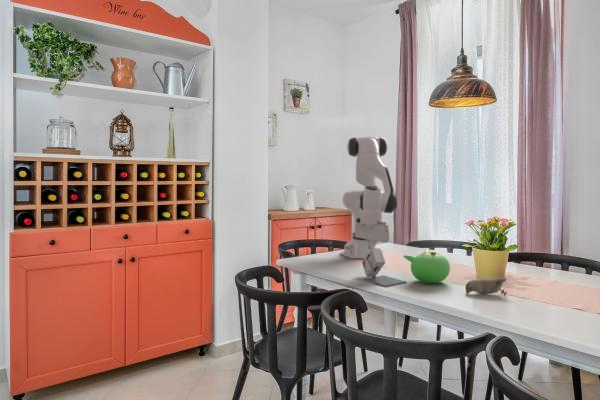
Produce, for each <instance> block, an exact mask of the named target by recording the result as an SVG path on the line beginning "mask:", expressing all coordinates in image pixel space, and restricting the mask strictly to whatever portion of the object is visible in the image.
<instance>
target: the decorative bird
mask: <svg viewBox="0 0 600 400" xmlns="http://www.w3.org/2000/svg"><path fill="white" fill-rule="evenodd" d="M506 281H507V277H502V278H501V277H498V278H492V279H491V278H483V279H478V280H477V279H471V280H469V281H468V282H467V283H466V284H465V293H466V295H468V294H469V293H471V292H475V293H477V294H479V295H490V294H495V293H497V292H499V291H501V294H503V296H504V297H506V296H507V292H508V290H506V291H505V289H506V288H503V290H502V286H503V284H504V282H506Z"/></svg>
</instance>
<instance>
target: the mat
mask: <svg viewBox="0 0 600 400" xmlns="http://www.w3.org/2000/svg"><path fill="white" fill-rule="evenodd" d="M363 281H365V282H367V283H368V282H369V283H372V284H375V285H377V286H381V287H384V288H388V287H389V288H390V287H393V286H398V285H403V284H407V281H406V280H401V279H399V278H394V277H391V276H387V275H376V277H366V278H365V277H364V278H363Z"/></svg>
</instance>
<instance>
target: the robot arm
mask: <svg viewBox="0 0 600 400" xmlns="http://www.w3.org/2000/svg"><path fill="white" fill-rule="evenodd" d="M388 148H389V145H388V141H387V139H386V138H385V137H381V136H378V137H377V136H376V137H375V136H365V137H351V138H350V139H349V140H348V142H347V144H346V149H347V150H346V151H347V152H348V155H349V156H350V157H356V160H355V161H356V162H355V181H356V182H357V183H358V184H359V185H361V186H363V187H364V190H350V191H345V193H344V194H343V196H342V204H343V206H344V208H346V209H347V210H348V211H349V212H350V213H351V215H352V217H353V223H354V232H353V233H351V235H352V238H351V239H349V241H347V242H346V243H345V244H344V249H343V251H340V253H339V254H340V255H342V256H345V257H348V258H350V259H362V260H364V259H365V258H366V256H367V254H368V253H369V251H370V250H371V248H376V245H377V243H378V242H379V243H384V244H385V243H388V242H389V241H390V231H389V224H387V222H385V221H382V215H383V214H382V213H386V214H392V213H394V212H395V211H396V210H398V209H397V208H398V205H399V202H398V199H397V198H398V197H397V194H396V192H395V189H394V187H393V181H392V178H391V176H390V171H389V168H388V167H387V165H385V164H383V162H382V160H381V157H384V156H385V155H386V154H387V151H388ZM376 179H378V180H380V181H381V182H382V185H383V189H384V191H382V189H381V187H380V186H379V185H378V183H377V180H376Z"/></svg>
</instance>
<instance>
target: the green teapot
mask: <svg viewBox="0 0 600 400" xmlns="http://www.w3.org/2000/svg"><path fill="white" fill-rule="evenodd" d="M403 258H404V259H406V260H407V261H409V262H410V271H411V274H412V275H413V277H414V278H415V279H416V280H418V281H419V282H421V283H425V284H437V283H440V282H442V281H444V280H446V278H448V276H449V274H450V272H451V265H450V263H449V261H448V259H447V258H446V257H445V255H442V254H441V253H439V252H436V251H430V250H429V248H425V249H424V251H423V253H420V254H418V255H410V254H404V255H403Z"/></svg>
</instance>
